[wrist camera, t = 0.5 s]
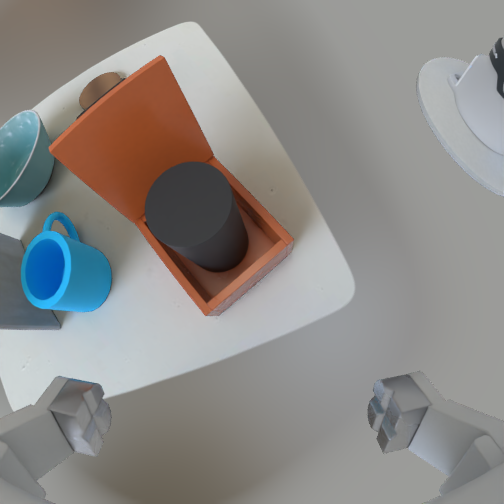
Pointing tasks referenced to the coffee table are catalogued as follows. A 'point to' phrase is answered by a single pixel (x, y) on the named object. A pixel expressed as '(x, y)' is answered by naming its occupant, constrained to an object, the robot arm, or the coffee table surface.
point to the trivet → (98, 88)
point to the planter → (18, 293)
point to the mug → (64, 270)
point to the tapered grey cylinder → (197, 216)
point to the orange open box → (246, 272)
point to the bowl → (23, 159)
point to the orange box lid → (132, 138)
